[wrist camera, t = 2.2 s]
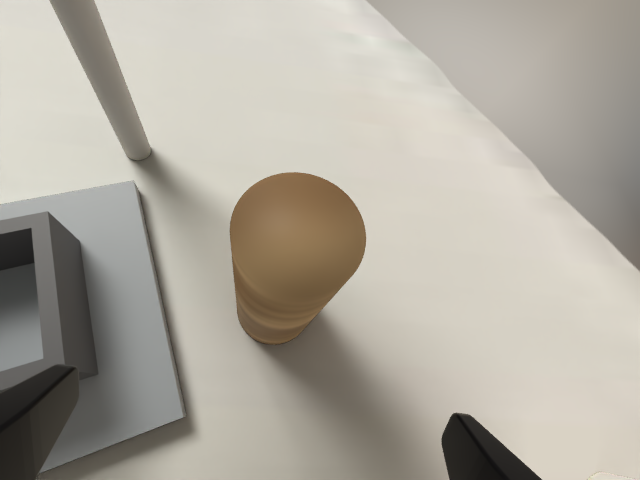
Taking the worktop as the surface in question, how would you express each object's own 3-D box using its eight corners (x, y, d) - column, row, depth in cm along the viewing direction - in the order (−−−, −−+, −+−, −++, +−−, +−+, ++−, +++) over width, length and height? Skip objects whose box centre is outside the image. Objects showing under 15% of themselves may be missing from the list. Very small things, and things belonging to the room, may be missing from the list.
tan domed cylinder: (320, 330, 21) (387, 273, 11) (249, 355, 20) (252, 317, 10) (296, 264, 22) (337, 162, 13) (228, 284, 21) (214, 186, 11)
